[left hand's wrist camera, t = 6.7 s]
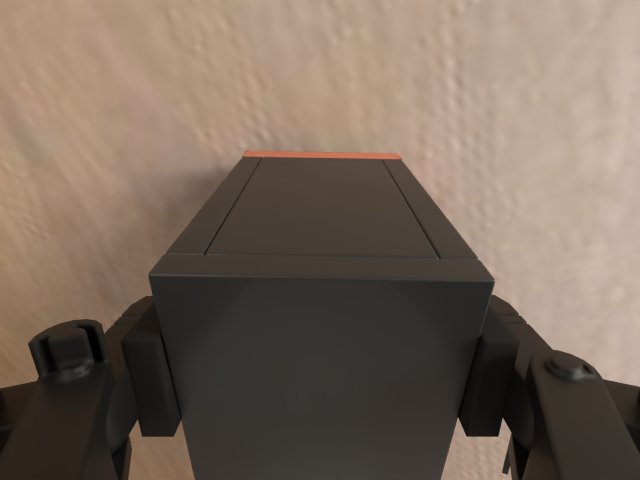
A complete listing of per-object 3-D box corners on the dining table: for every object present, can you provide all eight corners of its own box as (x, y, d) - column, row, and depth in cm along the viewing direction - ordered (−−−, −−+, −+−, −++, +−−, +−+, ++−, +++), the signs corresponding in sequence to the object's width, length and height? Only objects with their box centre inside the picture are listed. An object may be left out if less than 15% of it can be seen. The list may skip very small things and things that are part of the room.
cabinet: (369, 401, 24) (401, 625, 15) (264, 399, 24) (227, 623, 14) (397, 153, 17) (497, 279, 7) (246, 150, 17) (145, 273, 7)
